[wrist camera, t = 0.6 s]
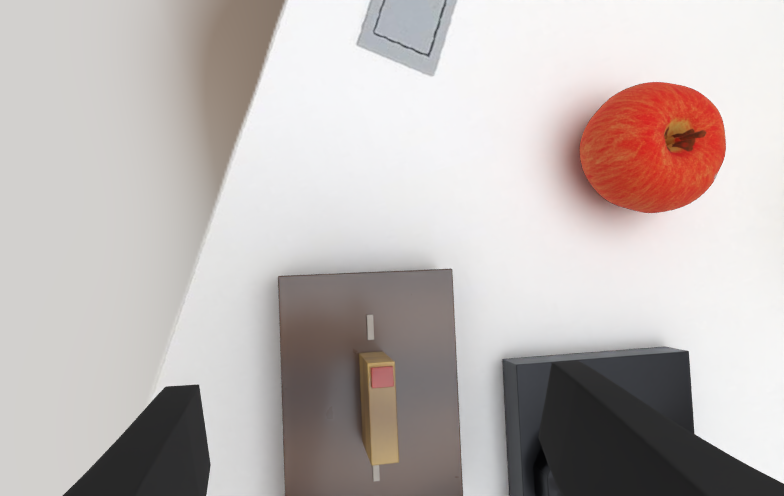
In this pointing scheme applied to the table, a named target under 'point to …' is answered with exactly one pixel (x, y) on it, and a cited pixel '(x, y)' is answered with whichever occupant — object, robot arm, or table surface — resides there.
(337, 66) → the table surface
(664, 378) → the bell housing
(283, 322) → the lock plate
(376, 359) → the wooden block
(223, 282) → the table surface
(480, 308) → the table surface
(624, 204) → the apple
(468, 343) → the table surface
